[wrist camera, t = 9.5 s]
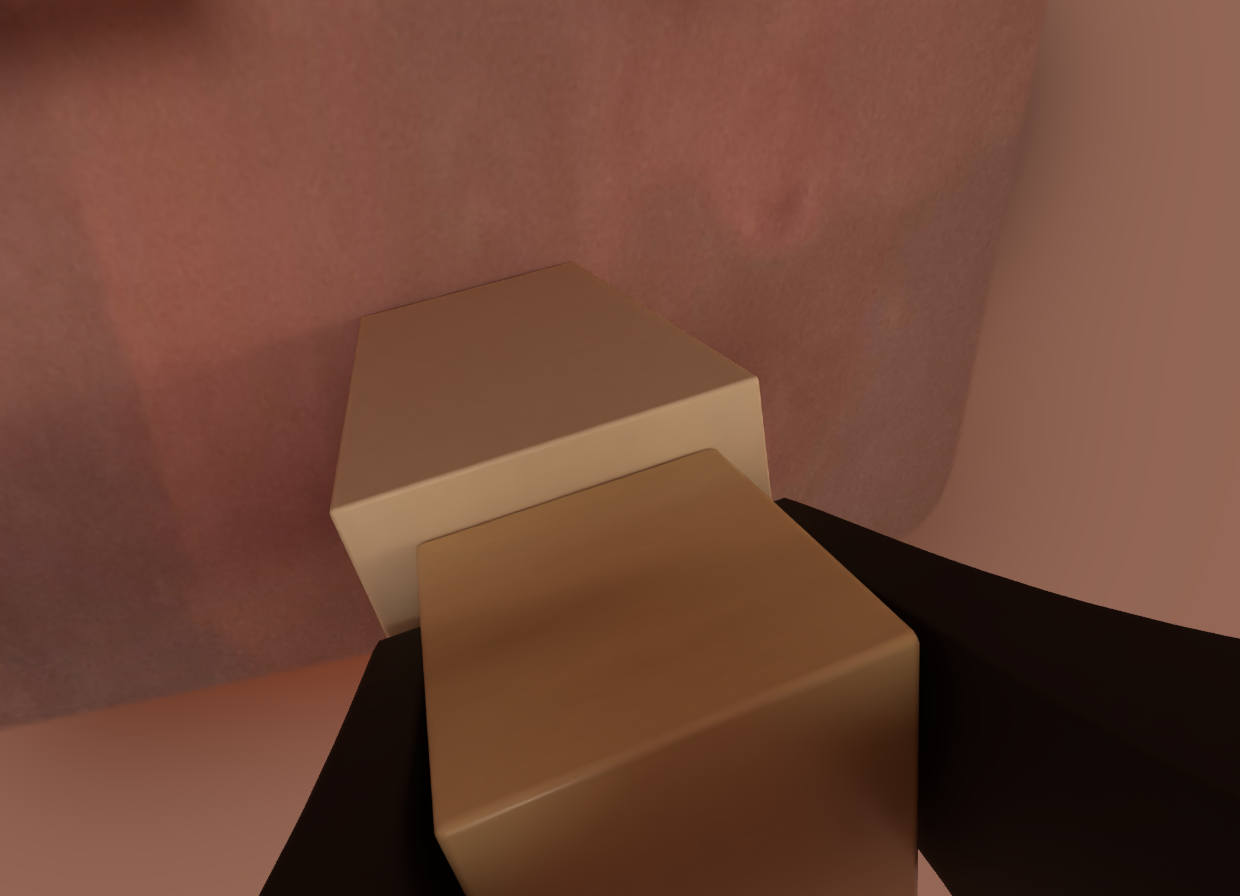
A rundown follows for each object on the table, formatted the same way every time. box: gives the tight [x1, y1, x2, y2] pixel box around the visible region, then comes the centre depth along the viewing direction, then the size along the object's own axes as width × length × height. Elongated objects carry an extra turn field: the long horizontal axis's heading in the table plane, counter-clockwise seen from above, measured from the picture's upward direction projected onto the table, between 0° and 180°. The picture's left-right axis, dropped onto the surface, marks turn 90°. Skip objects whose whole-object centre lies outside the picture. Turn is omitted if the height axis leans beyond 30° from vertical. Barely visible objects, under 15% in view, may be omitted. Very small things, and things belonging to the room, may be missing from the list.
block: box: [416, 449, 919, 896], centre depth 7 cm, size 4×4×4 cm
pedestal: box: [330, 262, 772, 638], centre depth 13 cm, size 5×5×10 cm
